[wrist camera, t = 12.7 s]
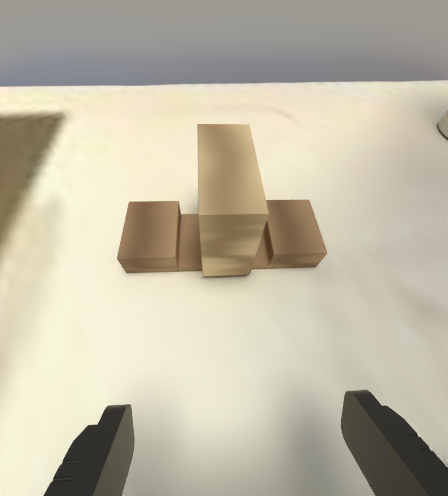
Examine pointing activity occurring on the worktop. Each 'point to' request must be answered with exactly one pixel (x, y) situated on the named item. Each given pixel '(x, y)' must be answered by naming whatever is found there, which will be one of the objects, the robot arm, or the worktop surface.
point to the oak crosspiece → (229, 199)
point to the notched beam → (189, 247)
